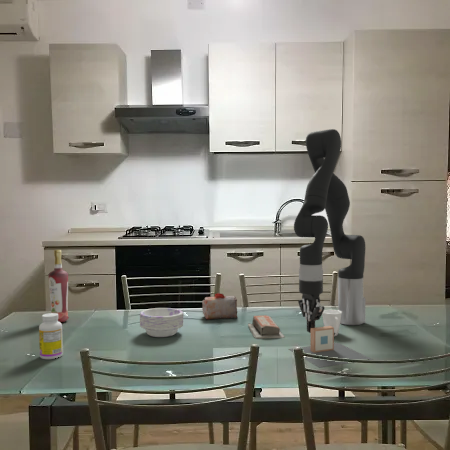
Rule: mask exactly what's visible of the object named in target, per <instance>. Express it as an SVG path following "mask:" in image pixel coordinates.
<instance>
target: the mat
mask: <svg viewBox="0 0 450 450" xmlns="http://www.w3.org/2000/svg"><path fill="white" fill-rule="evenodd" d="M302 348H303V350H304V352H305V353H311V354H316V355H322V356H328V357H338V358H349V359H369V360H368V361H372V360H374V359H373V358H371V357H369V356H367V355H365V354H362V353H360V352H359V351H357V350H354V349H352V348H351V347H348V346H346V345H344V344H343V343H339V342H334V350H329V351H322V352H312V351H311V345H309V346H303V347H302ZM288 350H289V351H291V352H292V353H294V352H293V348H288ZM304 360H305V361H307V362H309V363H311V364H312V365H314V366H316V367H318V368H319V369H320V368H326V367H331V366H332V367H333V366H339V365H347V364H349V363H348V362H335V361H327V360H320V359H313V358H307V357H305V359H304Z"/></svg>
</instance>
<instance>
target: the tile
mask: <svg viewBox="0 0 450 450" xmlns="http://www.w3.org/2000/svg"><path fill="white" fill-rule="evenodd" d="M334 335H335V333H334V327H332V326H325V327H324V326H317V327H316V326H315V328H311V333H310V346H311V351H312V352H322V351H329V350H334V343H335V338H334V337H335V336H334Z"/></svg>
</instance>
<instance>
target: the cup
mask: <svg viewBox="0 0 450 450" xmlns="http://www.w3.org/2000/svg"><path fill="white" fill-rule="evenodd" d="M341 314H342V311H339V310H338V309H330V308H329V309H324V311H323V313H322V315H321V316H322V321H323V327H325V326H332V327H334V337H337V336H338V335H339V332H340V325H341V323H340V320H341Z"/></svg>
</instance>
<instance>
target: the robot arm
mask: <svg viewBox="0 0 450 450" xmlns="http://www.w3.org/2000/svg"><path fill="white" fill-rule="evenodd" d="M305 147H306V150H307V151H306V152H307V156H308V157H309V160H310V161H309V162H310V163H311V165H312V168H313V171H314V173H313V175H312V176H311V178H310V180H309V181H308V183H307V186H306V188H305V189H306V190H305V194H304V200H303V204H302V205H301V208H300V210H299V211H298V213H297V215H296V217H295V220H294V223H293V231H294V233H295V235H296V236H297V237H299V238H314V240H313V242H312V243H310V244H304V245H302V246H300V248H299V268H298V269H299V270H298V293H300V294H302V296H301V299H298V300H297V302H298V303H297V304H298V306H299V310H300V311H301V315H302V317H303V318H305V321H306V332H308V333H309V334H311V328H316V321H319V320H320V318H321V316H322V313H323V311H324V310H326V309H325V306H323V305H321V298H320V295H321V294H323V292H324V269H323V249H324V244H325V240H326V237H327V234H328V229H329V230H330V237H331V243H332V247H333V252H334V254H335V256H336V257H337V258H338V259H343V260H351V263H350V264H349V265H348V266H346V267H342V268H339V269H338V271H337V272H338V273H337V285H338V286H337V310H339V311H342V314H341V320H340V325H341V324H342V325H346V326H347V325H348V326H358V325H362V324H365V323H366V297H365V296H364V272H365V263H366V261H365V259H366V240H365V238H364V236H362V235H360V234H345V232H344V225H343V224H344V221H345V218H346V216H347V215H348V212H349V210H350V207H351V201H350V197H349V192H348V189H347V186H346V184H345V183H344V182H343V180H341V179H340V177H338V176H337V175H336V174H335V173H334V171H335V169H336V165H337V163H338V159H339V157H340V154H341V151H342V150H341V148H342V136H341V135H340V132H339V131H338V130H337V129H334V128H332V129H331V128H330V129H323V130H316V131H311V132H309V133H308V134H306V137H305ZM324 211H325V213H326V217H327V218H326V217H325V216H323V215H320V214H319V213H322V212H324ZM315 214H319V215H315Z"/></svg>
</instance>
